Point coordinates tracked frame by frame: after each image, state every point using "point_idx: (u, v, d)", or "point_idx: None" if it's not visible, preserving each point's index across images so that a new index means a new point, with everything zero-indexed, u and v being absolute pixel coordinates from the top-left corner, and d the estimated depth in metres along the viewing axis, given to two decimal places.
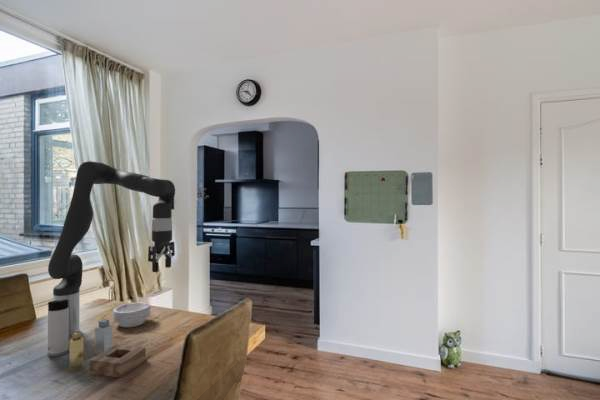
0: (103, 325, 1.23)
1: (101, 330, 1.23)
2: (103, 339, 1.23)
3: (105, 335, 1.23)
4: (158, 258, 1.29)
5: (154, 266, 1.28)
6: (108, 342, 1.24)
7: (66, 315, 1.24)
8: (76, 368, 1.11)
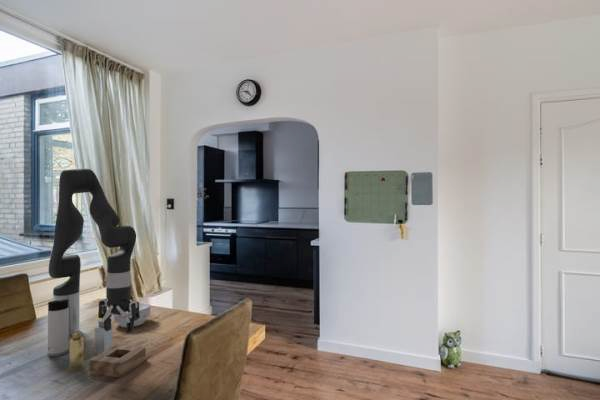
0: (103, 325, 1.23)
1: (101, 330, 1.23)
2: (103, 339, 1.23)
3: (105, 335, 1.23)
4: (131, 315, 1.15)
5: (133, 325, 1.14)
6: (108, 342, 1.24)
7: (66, 315, 1.24)
8: (76, 368, 1.11)
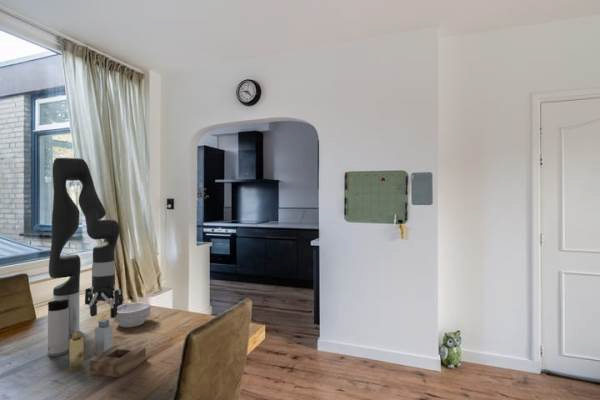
0: (103, 325, 1.23)
1: (101, 330, 1.23)
2: (103, 339, 1.23)
3: (105, 335, 1.23)
4: None
5: (116, 311, 1.24)
6: (108, 342, 1.24)
7: (66, 315, 1.24)
8: (76, 368, 1.11)
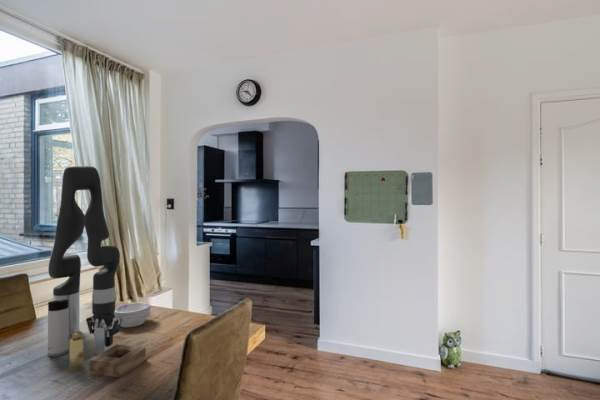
0: None
1: (101, 330, 1.23)
2: (103, 339, 1.23)
3: (105, 335, 1.23)
4: (112, 330, 1.25)
5: (112, 339, 1.24)
6: None
7: (66, 315, 1.24)
8: (76, 368, 1.11)
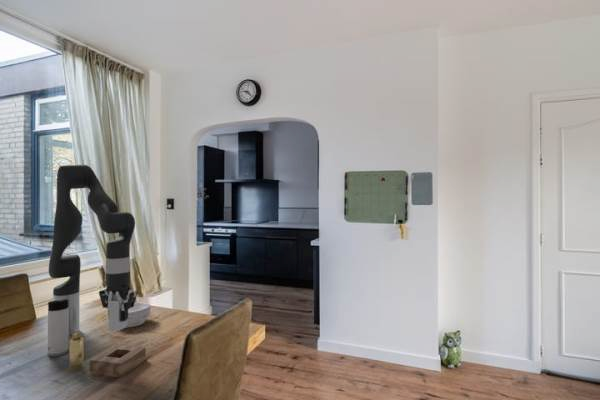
0: (117, 298, 1.13)
1: (116, 303, 1.12)
2: (118, 313, 1.12)
3: (120, 308, 1.13)
4: (127, 303, 1.15)
5: (127, 313, 1.14)
6: None
7: (66, 315, 1.24)
8: (76, 368, 1.11)
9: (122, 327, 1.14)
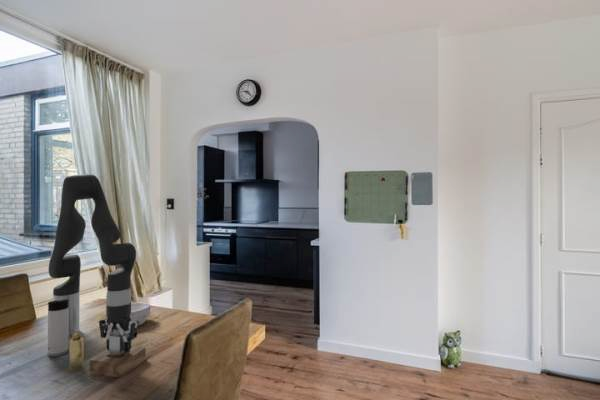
0: (118, 334, 1.13)
1: (116, 339, 1.12)
2: (118, 349, 1.12)
3: (120, 344, 1.13)
4: (129, 334, 1.15)
5: (130, 344, 1.14)
6: (123, 352, 1.14)
7: (66, 315, 1.24)
8: (76, 368, 1.11)
9: None
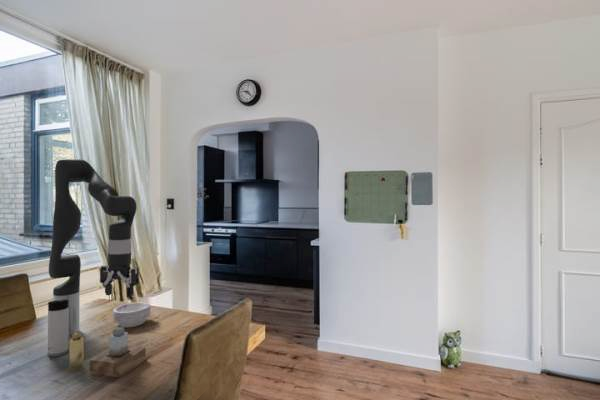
0: (118, 334, 1.13)
1: (116, 339, 1.12)
2: (118, 349, 1.12)
3: (120, 344, 1.13)
4: None
5: (132, 290, 1.20)
6: (123, 352, 1.14)
7: (66, 315, 1.24)
8: (76, 368, 1.11)
9: None
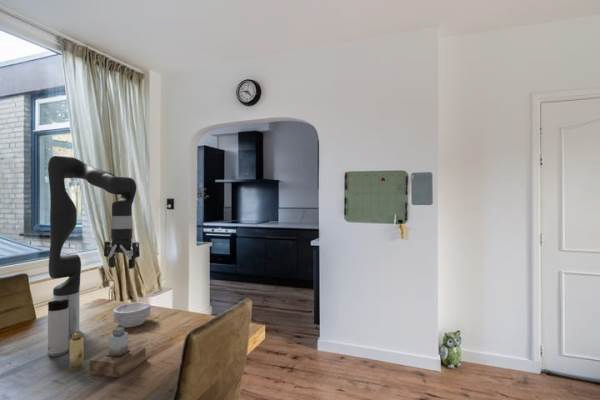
0: (118, 334, 1.13)
1: (116, 339, 1.12)
2: (118, 349, 1.12)
3: (120, 344, 1.13)
4: (133, 254, 1.33)
5: (134, 262, 1.32)
6: (123, 352, 1.14)
7: (66, 315, 1.24)
8: (76, 368, 1.11)
9: None
